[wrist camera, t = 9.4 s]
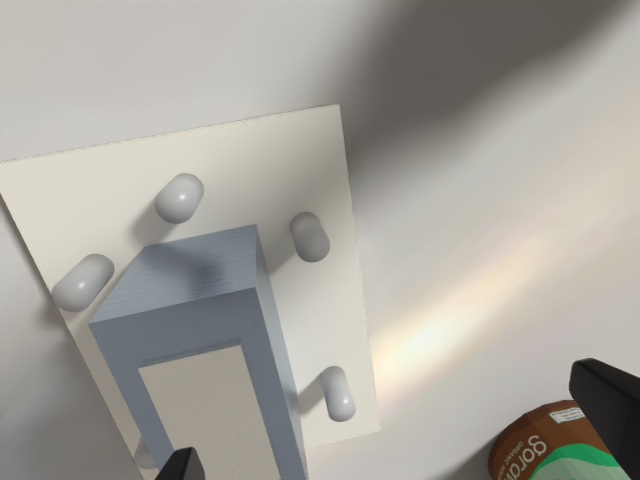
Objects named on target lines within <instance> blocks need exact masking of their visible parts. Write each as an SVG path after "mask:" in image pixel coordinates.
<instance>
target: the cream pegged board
mask: <svg viewBox="0 0 640 480" xmlns="http://www.w3.org/2000/svg"><path fill="white" fill-rule="evenodd" d="M0 193H1V195H2V197H3V199H4V201H5V203H6V205H7V207H8V209H9V211H10V213H11V215H12V217H13V219H14V221H15V223H16V225H17V227H18V229H19V231H20V233H21V235H22V237H23V239H24V241H25V243H26V245H27V247H28V249H29V251H30V253H31V255H32V257H33V259H34V261H35V263H36V265H37V267H38V269H39V271H40V273H41V275H42V277H43V279H44V281H45V283H46V285H47V287H48V289H49V291H50V293H51V297H52V300H53V302H54V303H55V304H56V305H57V307H58V309H59V311H60V313H61V315H62V317H63V319H64V321H65V323H66V325H67V327H68V329H69V331H70V333H71V335H72V337H73V339H74V341H75V343H76V345H77V347H78V349H79V351H80V353H81V355H82V357H83V359H84V361H85V363H86V365H87V367H88V369H89V371H90V373H91V375H92V377H93V379H94V381H95V383H96V385H97V387H98V389H99V391H100V393H101V395H102V397H103V399H104V401H105V403H106V405H107V407H108V409H109V411H110V413H111V415H112V417H113V419H114V421H115V423H116V425H117V427H118V429H119V431H120V433H121V435H122V437H123V439H124V441H125V443H126V445H127V447H128V449H129V451H130V453H131V455H132V457H133V460H134V463H135V464H136V465H137V467H138V469H139V471H140V473H141V475H142V477H143V479H144V480H154V479H155V478H156V476H157V475H158V473H159V470H158V468H157V466H156V464H155V462H154V460H153V458H152V456H151V454H150V452H149V450H148V448H147V445H146V443H145V441H144V439H143V437H142V435H141V433H140V431H139V429H138V427H137V425H136V423H135V421H134V419H133V417H132V415H131V412H130V410H129V408H128V406H127V404H126V402H125V400H124V398H123V396H122V394H121V392H120V390H119V388H118V386H117V384H116V382H115V379H114V377H113V375H112V373H111V371H110V369H109V367H108V365H107V363H106V361H105V359H104V357H103V355H102V353H101V351H100V348H99V346H98V344H97V342H96V340H95V338H94V336H93V334H92V332H91V330H90V328H89V326H88V322H89V321H90V320H91V318H92V317H93V316H94V314H95V313H96V312H97V310H98V309H99V307H100V306H101V305H102V303H103V302H104V301H105V299H106V298H107V297H108V295H109V294H110V293H111V291H112V290H113V288H114V287H115V286H116V284H117V283H118V282H119V280H120V279H121V278H122V276H123V275H124V273H125V272H126V271H127V269H128V268H129V267H130V265H131V264H132V263H133V261H134V260H135V259H136V257H137V256H138V254H139V253H140V252H141V250H142V249H143V248H144V247H145V246H150V245H155V244H160V243H165V242H170V241H174V240H179V239H184V238H189V237H194V236H199V235H204V234H208V233H213V232H218V231H223V230H228V229H233V228H238V227H243V226H247V225H252V224H256V225H257V229H258V233H259V237H260V242H261V246H262V250H263V254H264V258H265V262H266V266H267V270H268V274H269V278H270V283H271V287H272V291H273V295H274V299H275V303H276V307H277V311H278V315H279V319H280V323H281V328H282V332H283V336H284V340H285V344H286V348H287V352H288V356H289V360H290V364H291V369H292V373H293V377H294V381H295V385H296V389H297V395H298V403H299V410H300V418H301V426H302V433H303V441H304V448H305V449H309V448H313V447H317V446H321V445H325V444H329V443H333V442H337V441H341V440H345V439H349V438H353V437H357V436H361V435H365V434H369V433H373V432H377V431H381V428H380V420H379V412H378V405H377V397H376V389H375V381H374V373H373V365H372V357H371V349H370V341H369V333H368V326H367V318H366V310H365V302H364V294H363V286H362V278H361V270H360V262H359V254H358V247H357V239H356V231H355V223H354V215H353V207H352V199H351V191H350V183H349V176H348V168H347V160H346V152H345V144H344V136H343V128H342V120H341V112H340V105H337V104H332V105H326V106H320V107H314V108H309V109H303V110H297V111H291V112H285V113H280V114H274V115H268V116H262V117H257V118H251V119H245V120H239V121H234V122H228V123H222V124H216V125H211V126H205V127H199V128H193V129H187V130H182V131H176V132H170V133H164V134H159V135H153V136H147V137H141V138H136V139H130V140H124V141H118V142H113V143H107V144H101V145H95V146H90V147H84V148H78V149H72V150H66V151H61V152H55V153H49V154H43V155H38V156H32V157H26V158H20V159H15V160H9V161H4V162H0Z"/></svg>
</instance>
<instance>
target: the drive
mask: <svg viewBox="0 0 640 480" xmlns="http://www.w3.org/2000/svg"><path fill="white" fill-rule="evenodd" d="M88 326H89V328H90V330H91V332H92V334H93V336H94V338H95V340H96V342H97V344H98V346H99V348H100V351H101V353H102V355H103V357H104V359H105V361H106V363H107V365H108V367H109V369H110V371H111V373H112V375H113V377H114V379H115V382H116V384H117V386H118V388H119V390H120V392H121V394H122V396H123V398H124V400H125V402H126V404H127V406H128V408H129V410H130V412H131V415H132V417H133V419H134V421H135V423H136V425H137V427H138V429H139V431H140V433H141V435H142V437H143V439H144V441H145V443H146V445H147V448H148V450H149V452H150V454H151V456H152V458H153V460H154V462H155V464H156V466H157V468H158V470H159V472H160V470H161V469H162V468H163V466H164V465H165V463H166V462H167V460H168V459H169V457H170V456H171V454H172V453H173V452H174V451H175V450H178V449H182V448H186V447H194V448H195V449H196V451H197V454H198V456H199V459H200V461H201V464H202V466H203V468H204V472H205V480H309V478H308V471H307V463H306V456H305V448H304V441H303V433H302V426H301V418H300V410H299V403H298V395H297V389H296V385H295V381H294V377H293V373H292V369H291V364H290V360H289V356H288V352H287V348H286V344H285V340H284V336H283V332H282V328H281V323H280V319H279V315H278V311H277V307H276V303H275V299H274V295H273V291H272V287H271V283H270V278H269V274H268V270H267V266H266V262H265V258H264V254H263V250H262V246H261V242H260V237H259V233H258V229H257V225H256V224H252V225H247V226H243V227H238V228H233V229H228V230H223V231H218V232H213V233H208V234H204V235H199V236H194V237H189V238H184V239H179V240H174V241H170V242H165V243H160V244H155V245H150V246H145V247H144V248H143V249H142V250H141V252H140V253H139V254H138V256H137V257H136V259H135V260H134V261H133V263H132V264H131V265H130V267H129V268H128V269H127V271H126V272H125V273H124V275H123V276H122V278H121V279H120V280H119V282H118V283H117V284H116V286H115V287H114V288H113V290H112V291H111V293H110V294H109V295H108V297H107V298H106V299H105V301H104V302H103V303H102V305H101V306H100V307H99V309H98V310H97V312H96V313H95V314H94V316H93V317H92V318H91V320H90V321H89V322H88Z"/></svg>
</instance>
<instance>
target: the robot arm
mask: <svg viewBox="0 0 640 480" xmlns="http://www.w3.org/2000/svg"><path fill="white" fill-rule="evenodd" d="M569 391H570V394H571V396H572V398H573V399H574V401H575V402H576V404H577V405H578V407H579V408H580V409H581V411H582V412H583V414H584V415H585V417H586V418H587V420H588V421H589V423H590V424H591V426H592V427H593V429H594V430H595V432H596V433H597V434H598V436H599V437H600V439H601V440H602V442H603V443H604V445H605V446H606V448H607V449H608V451H609V452H610V453H611V455H612V456H613V458H614V459H615V460H616V462H617V463H618V464H619V465H620V467H621V468H622V469H623V471H624V472H625V473H626V474H627V476H628V477H629V478H630V479H631V480H640V378H639V377H636V376H634V375H632V374H629V373H627V372H625V371H622V370H620V369H618V368H615V367H613V366H611V365H608V364H606V363H603V362H601V361H599V360H596V359H593V358H586V359H582V360H577V361H575V362H574V363H573V364H572V369H571V375H570V381H569ZM154 480H205V472H204V468H203V466H202V464H201V461H200V459H199V456H198V454H197V451H196V449H195V448H194V447H186V448H182V449H178V450H175V451H174V452H173V453H172V454H171V456H170V457H169V459H168V460H167V462H166V463H165V465H164V466H163V468H162V469H161V470H160V472H159V473H158V475H157V476H156V478H155V479H154Z"/></svg>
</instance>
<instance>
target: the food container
mask: <svg viewBox="0 0 640 480" xmlns="http://www.w3.org/2000/svg"><path fill="white" fill-rule="evenodd" d="M488 469H489V473H490V475H491V477H492V479H493V480H631V479H630V478H629V477H628V476H627V474H626V473H625V472H624V471H623V469H622V468H621V467H620V465H619V464H618V463H617V462H616V460H615V459H614V458H613V456H612V455H611V453H610V452H609V451H608V449H607V448H606V446H605V445H604V443H603V442H602V440H601V439H600V437H599V436H598V434H597V433H596V432H595V430H594V429H593V427H592V426H591V424H590V423H589V421H588V420H587V418H586V417H585V415H584V414H583V412H582V411H581V409H580V408H579V407H578V405H577V404H576V402H575V401H574V400H562V401H558V402H554V403H549V404H545V405H542V406H540V407H538V408H536V409H534V410H532V411H530V412H527V413H525V414H524V415H522V416H521V417H520V418H518V419H517V420H516V421H514V422H513V423H512V424H510V425H509V426H508V427H507V428H506V429H505V430H504V431H503V433H502V434H501V435H500V436H499V437H498V438H497V440H496V442H495V443H494V445H493V447H492V449H491V452H490V455H489V459H488Z"/></svg>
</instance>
